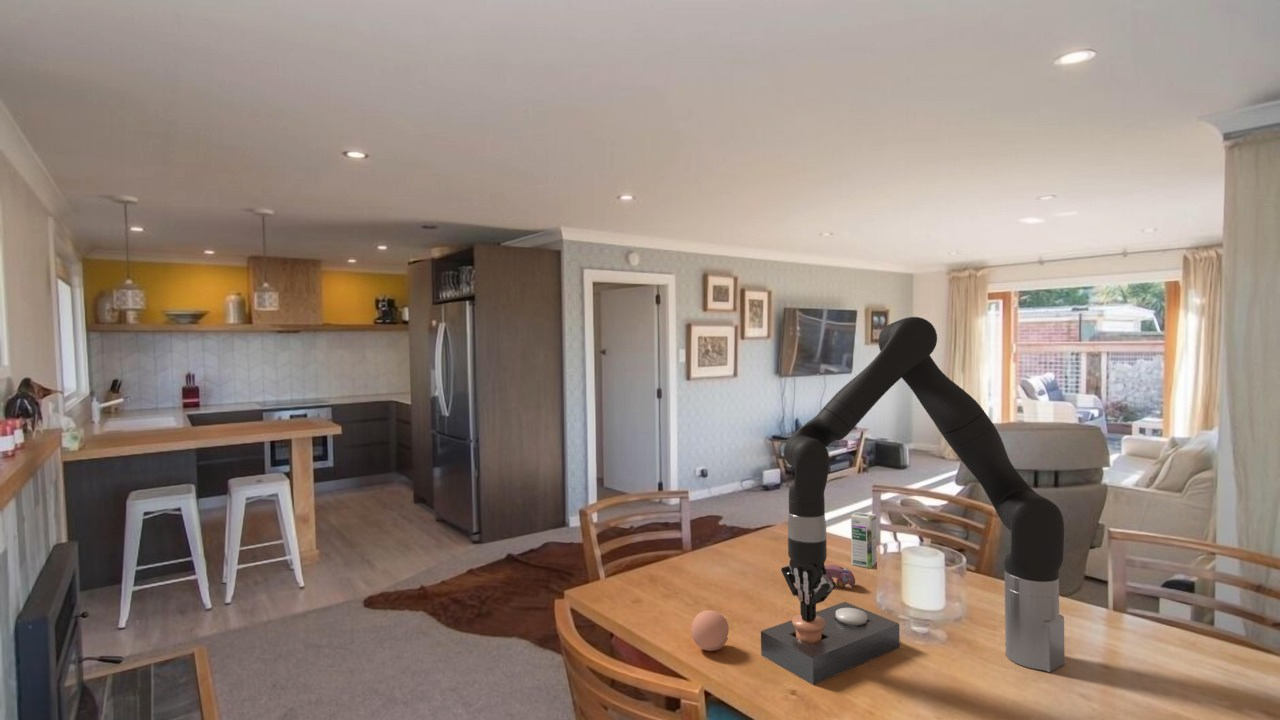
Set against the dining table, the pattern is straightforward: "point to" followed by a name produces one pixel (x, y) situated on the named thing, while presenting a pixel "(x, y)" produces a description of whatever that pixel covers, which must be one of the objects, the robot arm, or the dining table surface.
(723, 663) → the dining table surface
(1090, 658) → the dining table surface
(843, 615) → the grey button
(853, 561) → the syrup box
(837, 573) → the video game controller
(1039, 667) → the robot arm
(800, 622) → the terracotta button
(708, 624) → the toy ball
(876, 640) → the button panel
